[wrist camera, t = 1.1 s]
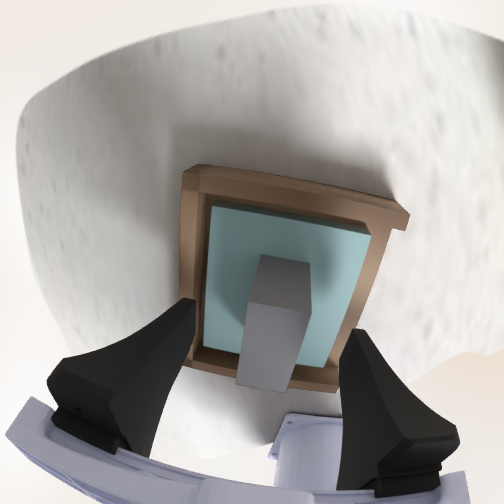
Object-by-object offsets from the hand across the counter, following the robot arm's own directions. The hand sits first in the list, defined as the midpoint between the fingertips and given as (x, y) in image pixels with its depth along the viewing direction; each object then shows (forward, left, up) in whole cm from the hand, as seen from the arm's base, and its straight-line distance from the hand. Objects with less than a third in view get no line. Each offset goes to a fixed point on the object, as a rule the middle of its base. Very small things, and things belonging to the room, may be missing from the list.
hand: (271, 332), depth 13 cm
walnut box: (0, 0, -4) cm, 4 cm away
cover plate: (0, 0, -4) cm, 4 cm away
